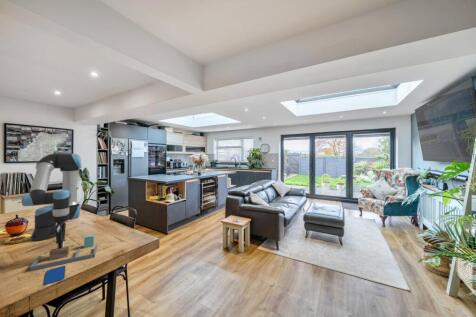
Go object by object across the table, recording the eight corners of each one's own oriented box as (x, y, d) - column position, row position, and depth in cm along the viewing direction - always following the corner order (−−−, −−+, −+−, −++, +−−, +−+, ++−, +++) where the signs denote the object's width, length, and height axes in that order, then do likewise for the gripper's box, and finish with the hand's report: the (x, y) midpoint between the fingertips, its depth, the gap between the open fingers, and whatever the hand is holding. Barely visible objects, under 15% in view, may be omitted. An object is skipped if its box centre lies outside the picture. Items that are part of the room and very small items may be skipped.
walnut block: (51, 257, 114) (51, 249, 114) (68, 253, 118) (69, 246, 118) (49, 260, 110) (49, 252, 110) (67, 256, 115) (67, 248, 115)
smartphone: (43, 285, 88) (46, 270, 99) (43, 287, 88) (46, 272, 99) (64, 278, 93) (65, 265, 104) (64, 280, 93) (65, 266, 104)
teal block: (85, 245, 130) (85, 235, 130) (94, 243, 133) (94, 233, 133) (84, 248, 126) (84, 237, 126) (93, 246, 129) (93, 236, 129)
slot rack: (38, 259, 111) (38, 256, 111) (97, 247, 126) (97, 244, 126) (28, 271, 99) (28, 267, 99) (94, 257, 114) (94, 253, 114)
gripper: (56, 213, 120) (55, 249, 120) (49, 218, 109) (48, 258, 109) (71, 211, 124) (70, 247, 124) (66, 216, 113) (65, 255, 113)
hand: (60, 252), depth 117 cm, fingers closed
